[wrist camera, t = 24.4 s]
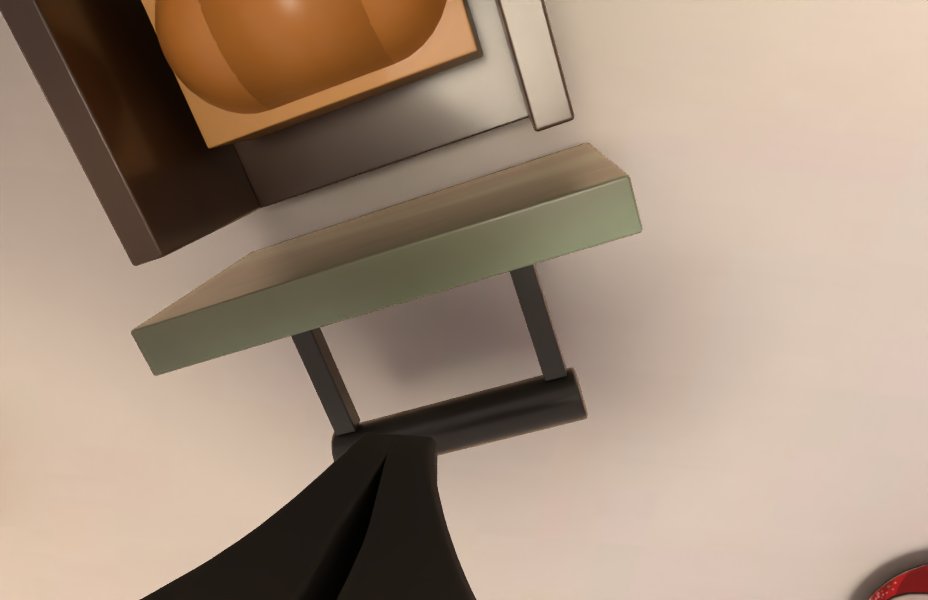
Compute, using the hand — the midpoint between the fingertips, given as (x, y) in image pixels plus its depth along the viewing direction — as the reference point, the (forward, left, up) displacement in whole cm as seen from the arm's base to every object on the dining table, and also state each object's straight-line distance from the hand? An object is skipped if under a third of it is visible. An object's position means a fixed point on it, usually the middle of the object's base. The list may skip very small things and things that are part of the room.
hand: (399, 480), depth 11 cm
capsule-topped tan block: (+4, +8, -8) cm, 12 cm away
